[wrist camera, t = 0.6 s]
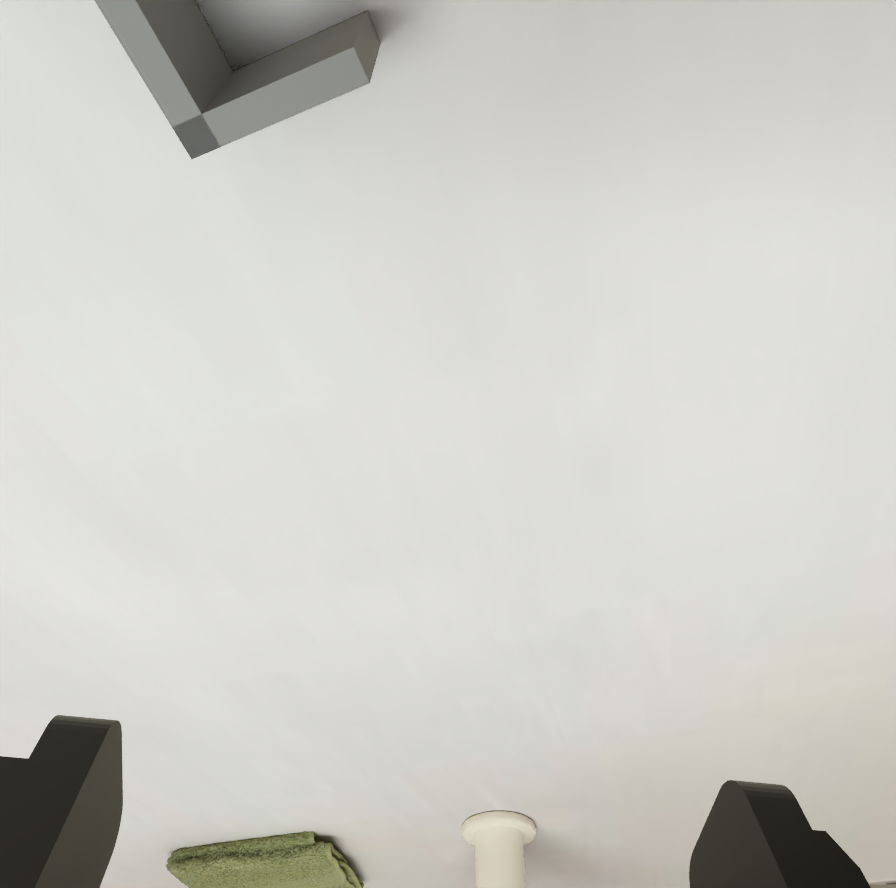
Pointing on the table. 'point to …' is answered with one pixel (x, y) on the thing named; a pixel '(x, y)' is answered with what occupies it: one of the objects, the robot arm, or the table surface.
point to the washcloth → (264, 864)
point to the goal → (241, 91)
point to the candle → (499, 847)
